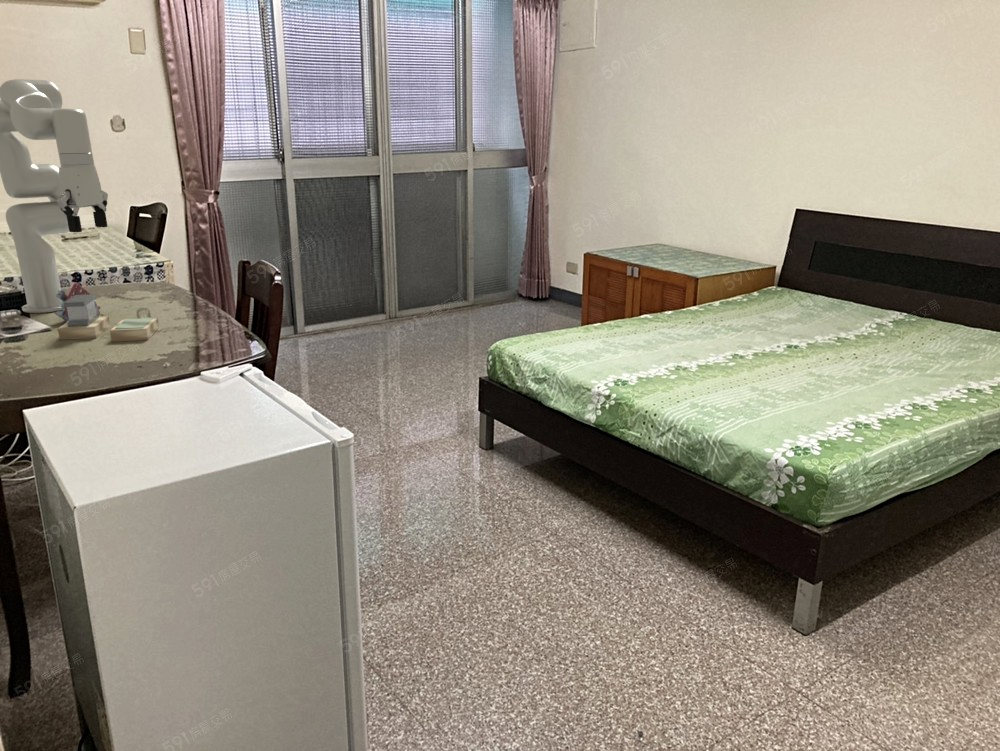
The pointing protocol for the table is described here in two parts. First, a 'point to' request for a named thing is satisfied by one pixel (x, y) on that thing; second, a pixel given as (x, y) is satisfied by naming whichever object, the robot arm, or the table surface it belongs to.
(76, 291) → the motor mount assembly
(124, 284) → the table surface
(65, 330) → the stand
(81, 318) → the block
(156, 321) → the stand
